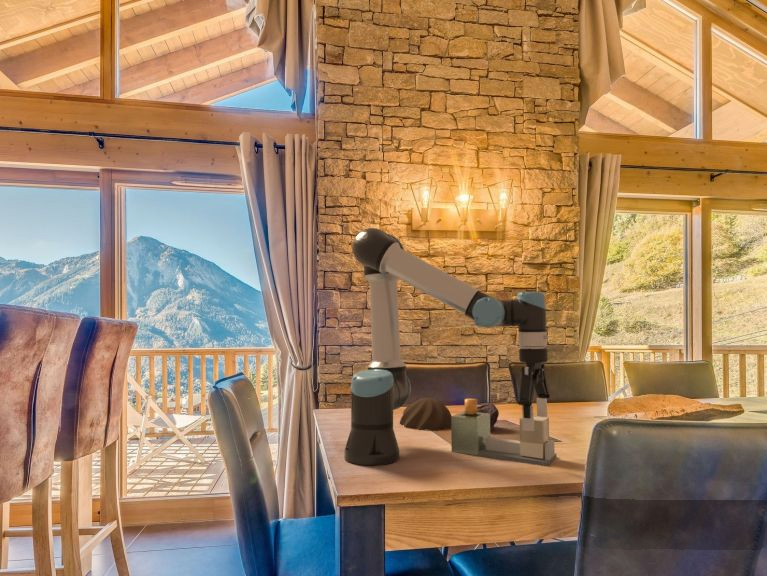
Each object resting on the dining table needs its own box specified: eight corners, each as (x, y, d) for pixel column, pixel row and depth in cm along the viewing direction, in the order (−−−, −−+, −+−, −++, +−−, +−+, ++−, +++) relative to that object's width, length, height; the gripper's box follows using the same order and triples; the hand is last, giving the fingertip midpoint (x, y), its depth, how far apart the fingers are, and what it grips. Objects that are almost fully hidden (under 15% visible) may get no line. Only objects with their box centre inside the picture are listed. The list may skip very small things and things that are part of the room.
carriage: (542, 458, 132) (541, 421, 132) (520, 455, 135) (519, 418, 136) (549, 453, 137) (548, 417, 138) (527, 450, 141) (526, 415, 141)
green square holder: (477, 455, 140) (477, 419, 140) (451, 451, 144) (451, 416, 145) (490, 447, 148) (490, 413, 149) (465, 444, 152) (465, 411, 153)
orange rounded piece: (474, 415, 144) (474, 400, 144) (462, 414, 146) (462, 399, 146) (479, 413, 147) (478, 399, 148) (467, 412, 149) (467, 398, 149)
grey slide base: (547, 466, 129) (546, 446, 130) (477, 455, 140) (477, 437, 140) (556, 457, 138) (556, 438, 138) (490, 447, 148) (490, 430, 148)
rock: (467, 434, 172) (496, 436, 167) (465, 410, 171) (493, 411, 167) (477, 422, 182) (505, 424, 177) (475, 399, 182) (503, 401, 177)
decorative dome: (459, 422, 187) (459, 395, 188) (444, 432, 169) (444, 403, 170) (411, 418, 195) (411, 392, 196) (392, 428, 177) (392, 399, 177)
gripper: (533, 350, 126) (537, 436, 124) (557, 345, 147) (560, 419, 145) (504, 349, 130) (507, 433, 128) (532, 345, 151) (534, 417, 149)
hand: (535, 425), depth 137 cm, fingers open, 13 cm apart
